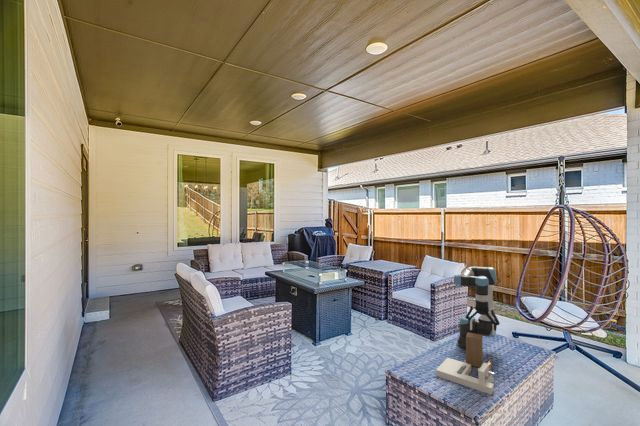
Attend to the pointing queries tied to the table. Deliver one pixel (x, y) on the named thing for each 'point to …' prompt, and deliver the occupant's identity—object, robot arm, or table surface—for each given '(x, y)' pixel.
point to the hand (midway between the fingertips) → (482, 332)
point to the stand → (465, 375)
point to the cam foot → (489, 373)
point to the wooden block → (474, 349)
